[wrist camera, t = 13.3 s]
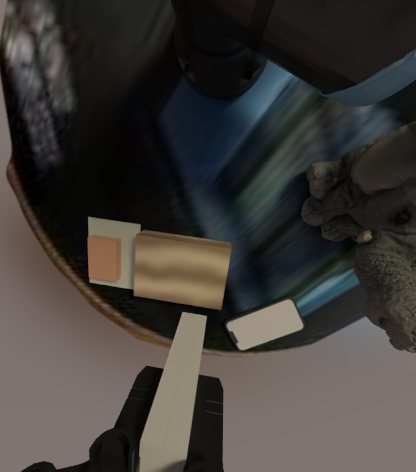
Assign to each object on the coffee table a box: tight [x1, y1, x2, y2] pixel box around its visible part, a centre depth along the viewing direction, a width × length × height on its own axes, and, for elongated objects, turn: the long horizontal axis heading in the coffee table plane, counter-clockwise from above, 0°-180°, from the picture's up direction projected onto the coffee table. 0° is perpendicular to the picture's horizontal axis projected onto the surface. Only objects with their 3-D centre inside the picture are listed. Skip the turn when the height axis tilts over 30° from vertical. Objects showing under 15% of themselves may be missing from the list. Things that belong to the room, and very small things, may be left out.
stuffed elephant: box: [301, 121, 416, 353], centre depth 25 cm, size 19×21×27 cm
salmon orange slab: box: [88, 235, 121, 282], centre depth 44 cm, size 9×6×2 cm, turn 173°
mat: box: [88, 217, 141, 289], centre depth 44 cm, size 15×11×1 cm
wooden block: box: [134, 230, 231, 310], centre depth 42 cm, size 13×18×4 cm
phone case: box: [225, 295, 305, 351], centre depth 46 cm, size 9×2×16 cm
